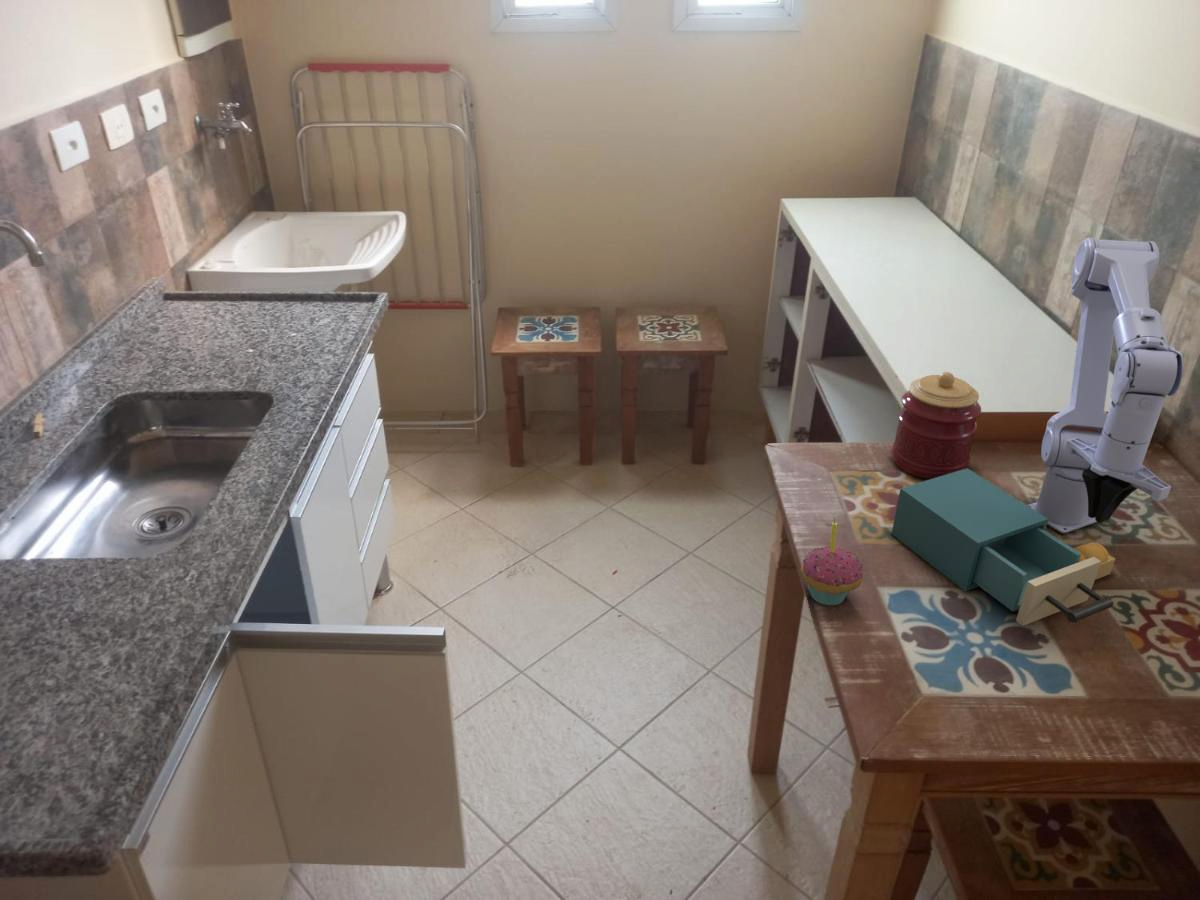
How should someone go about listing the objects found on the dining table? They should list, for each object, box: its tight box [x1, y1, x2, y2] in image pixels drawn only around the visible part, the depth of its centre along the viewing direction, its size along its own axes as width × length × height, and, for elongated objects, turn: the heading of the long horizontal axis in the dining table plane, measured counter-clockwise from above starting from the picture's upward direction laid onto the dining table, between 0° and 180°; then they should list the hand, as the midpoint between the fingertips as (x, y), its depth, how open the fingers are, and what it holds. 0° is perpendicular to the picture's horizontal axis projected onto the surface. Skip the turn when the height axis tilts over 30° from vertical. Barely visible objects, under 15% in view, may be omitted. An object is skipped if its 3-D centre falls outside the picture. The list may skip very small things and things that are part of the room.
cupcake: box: [800, 517, 865, 606], centre depth 122 cm, size 9×8×12 cm
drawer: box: [972, 526, 1114, 627], centre depth 122 cm, size 19×12×7 cm, turn 25°
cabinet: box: [891, 467, 1049, 592], centre depth 132 cm, size 16×14×9 cm
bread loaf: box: [1072, 542, 1116, 581], centre depth 128 cm, size 8×4×4 cm, turn 115°
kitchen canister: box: [891, 371, 982, 480], centre depth 152 cm, size 13×13×18 cm
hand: (1098, 517), depth 124 cm, fingers closed
